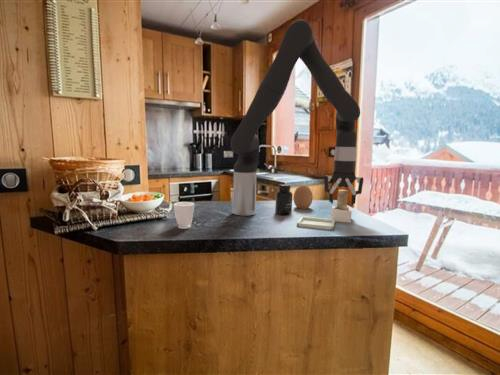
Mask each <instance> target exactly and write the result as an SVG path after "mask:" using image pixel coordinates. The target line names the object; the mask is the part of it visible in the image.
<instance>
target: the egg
mask: <svg viewBox="0 0 500 375" xmlns="http://www.w3.org/2000/svg"><path fill="white" fill-rule="evenodd" d="M313 199H314V198H313V193H312V190H311V188H310V187H309V186H308V185H307V184H304V183H303V184H302V183H301V184H300V185H298V186H297V188H296V189H295V190H294V193H293V198H292V201H293V204H294V205H295V207H296V208H297V209H300V210H307V209H308V208H310V207H311V206H312V203H313Z"/></svg>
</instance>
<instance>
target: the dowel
mask: <svg viewBox="0 0 500 375" xmlns="http://www.w3.org/2000/svg"><path fill="white" fill-rule="evenodd" d="M348 196H349V190H348V189H337V200H336V202H337V203H336V206H337V209H338V210H347V207H348V200H349V198H348Z"/></svg>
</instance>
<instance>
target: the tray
mask: <svg viewBox="0 0 500 375" xmlns="http://www.w3.org/2000/svg"><path fill="white" fill-rule="evenodd" d="M335 224H336V221H335V219H331V218H323V217H313V216H312V217H311V216H300V218H299V219H298V221H297V223H296V227H299V228H307V229H317V230H324V231H325V230H326V231H334V228H335Z"/></svg>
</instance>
